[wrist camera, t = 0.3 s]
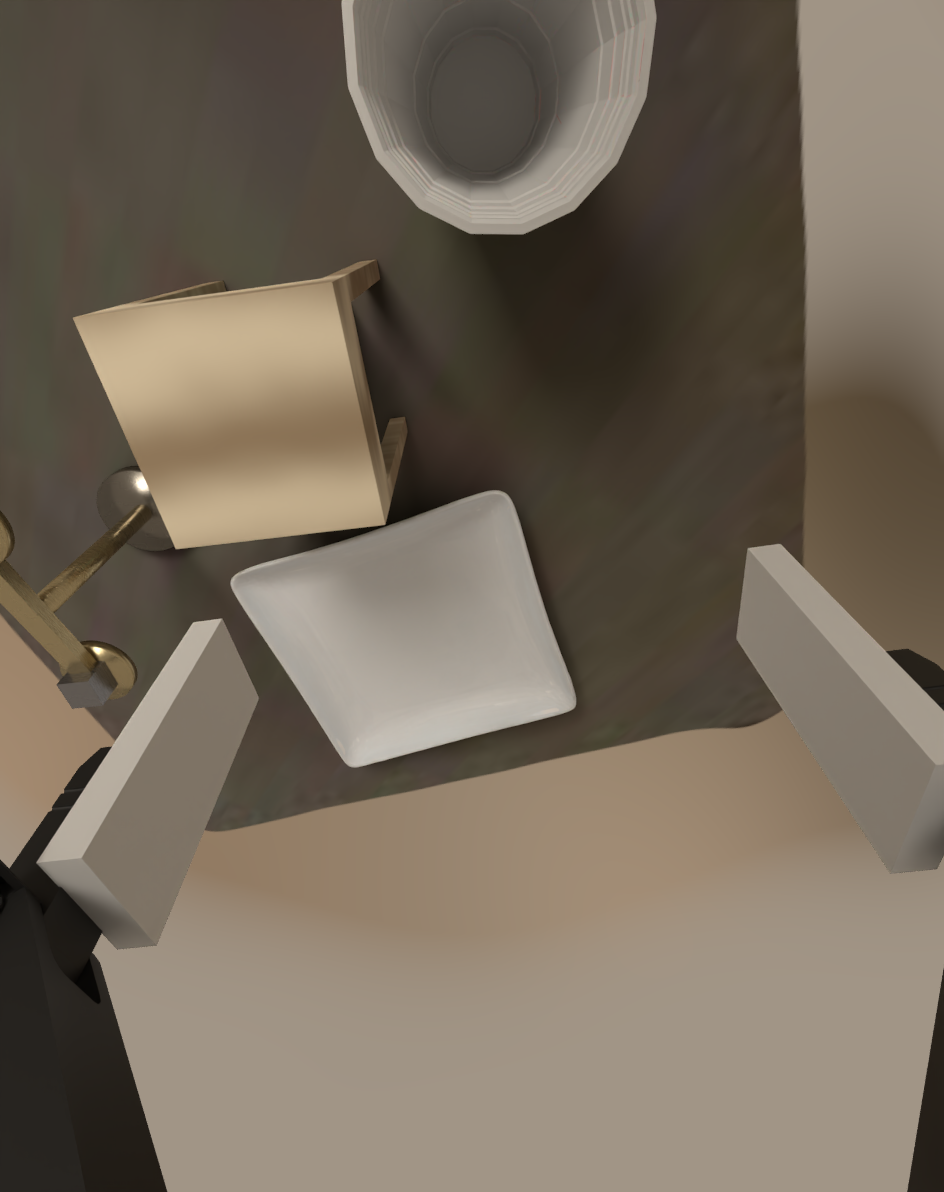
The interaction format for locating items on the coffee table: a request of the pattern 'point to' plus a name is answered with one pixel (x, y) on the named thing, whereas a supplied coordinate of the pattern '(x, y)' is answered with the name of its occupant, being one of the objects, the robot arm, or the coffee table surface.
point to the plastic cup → (498, 100)
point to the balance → (84, 664)
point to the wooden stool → (249, 407)
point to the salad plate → (414, 631)
